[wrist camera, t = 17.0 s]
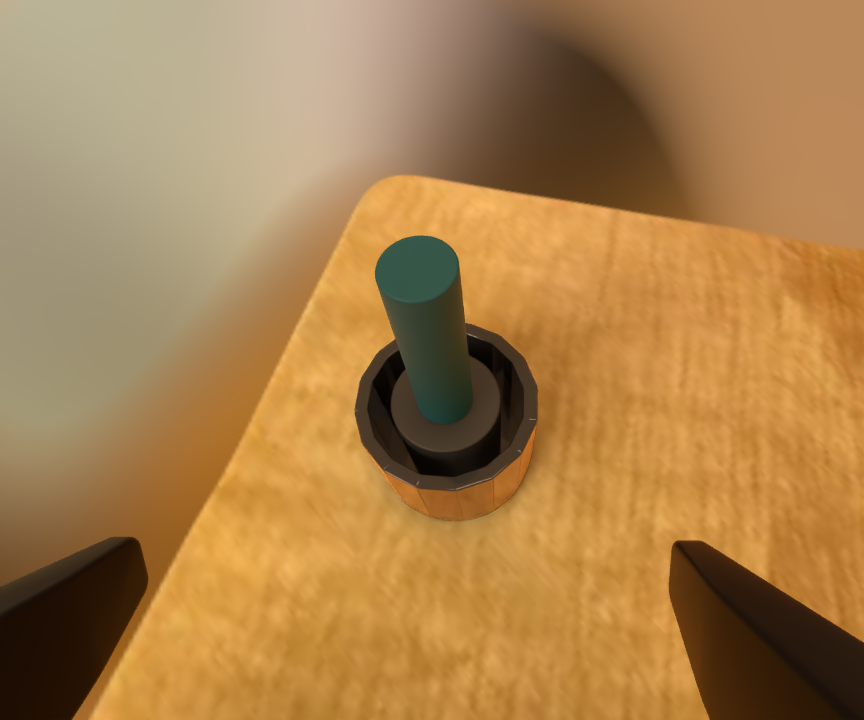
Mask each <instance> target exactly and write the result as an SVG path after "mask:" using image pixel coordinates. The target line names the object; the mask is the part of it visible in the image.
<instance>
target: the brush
mask: <svg viewBox="0 0 864 720" xmlns="http://www.w3.org/2000/svg"><path fill="white" fill-rule="evenodd" d="M375 278H376V282H377V285H378V288H379V291H380V294H381V297H382V300H383V303H384V306H385V309H386V312H387V315H388V318H389V321H390V324H391V327H392V330H393V333H394V336H395V339H396V342H397V345H398V348H399V351H400V354H401V357H402V359H403V362H404V365H405V368H406V369H405V370H404V372H403V373H402V374H401V375H400V377H399V378H398V380H397V382H396V384H395V386H394V389H393V392H392V396H391V412H392V417H393V420H394V422H395V425H396V427H397V429H398V431H399V433H400V435H401V437H402V440H403V442H404V444H405V446H406V448H407V450H408V452H409V455H410V457H411V459H412V461H413V463H414V465H415V466H416V468H417V469H418V470H419V471H420V472H421V474H422V475H436V476H450V477H455V476H458V475H461V474H464V473H467V472H470V471H473V470H476V469H479V468H482V467H485V466H486V465H488V464H489V463H490V462H491V461H492V460H493V459H495V458H496V457H497V456H498V455H499V451H500V445H501V393H500V388H499V385H498V383H497V381H496V379H495V377H494V375H493V374H492V372H491V371H490V370H489V369H488V368H487V367H486V366H485V365H484V364H483V363H482V362H480V361H479V360H477V359H475V358H473V357H471V356H469V354H468V345H467V335H466V326H465V316H464V306H463V297H462V287H461V277H460V268H459V260H458V257H457V255H456V253H455V252H454V250H453V249H452V248H451V247H450V246H449V245H448V244H447V243H445V242H444V241H442V240H440V239H438V238H435V237H431V236H411V237H407V238H404V239H401V240H399V241H397V242H395V243H394V244H392V245H391V246H389V247H388V248H387V249H386V250H385V251H384V252H383V253H382V255H381V256H380V258H379V260H378V262H377V265H376V268H375Z"/></svg>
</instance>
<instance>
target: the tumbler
mask: <svg viewBox="0 0 864 720" xmlns="http://www.w3.org/2000/svg"><path fill="white" fill-rule="evenodd" d="M465 326H466V335H467V345H468V354H469V356H471V357H473V358H475V359H477V360H479V361H480V362H482V363H483V364H484V365H485V366H486V367H487V368H488V369H489V370H490V371H491V372H492V374H493V375H494V377H495V379H496V381H497V383H498V385H499V388H500V393H501V445H500V451H499V455H498V456H497V457H496V458H495V459H493V460H492V461H491V462H490V463H489V464H488V465H486V466H485V467H482V468H479V469H476V470H473V471H470V472H467V473H464V474H461V475H458V476H455V477H450V476H436V475H422V474H421V472H420V471H419V470H418V469H417V468H416V466H415V465H414V463H413V461H412V459H411V457H410V455H409V452H408V450H407V448H406V446H405V444H404V442H403V440H402V437H401V435H400V433H399V431H398V429H397V427H396V425H395V422H394V420H393V417H392V412H391V396H392V392H393V389H394V386H395V384H396V382H397V380H398V378H399V377H400V375H401V374H402V373H403V372H404V370H405V369H406V368H405V365H404V362H403V359H402V357H401V354H400V351H399V348H398V345H397V342H396V339H395V340H394V341H392V342H391V343H389V344H388V345H387V346H385V347H384V348H383V349H381V350H380V351H379V353H377V354H376V356H375V357H374V359H373V360H372V362H371V364H370V365H369V367H368V368H367V370H366V371H365V373H364V374H363V376H362V377H361V380H360V383H359V389H358V394H357V399H356V405H355V417H356V422H357V426H358V430H359V434H360V438H361V442H362V444H363V446H364V448H365V449H366V451H367V452H368V454H369V455H370V457H371V458H372V459H373V461H374V462H375V464H376V465H377V467H378V468H379V470H380V471H381V473H382V474H383V476H384V477H385V479H386V480H387V481H388V482H389V484H390V485H391V486H392V488H393V489H394V490H395V492H396V493H397V494H398V495H399V496H400V498H401V499H402V500H403V501H404V502H405V503H407V504H408V505H409V506H410V507H412V508H414V509H415V510H417V511H418V512H420V513H422V514H425V515H427V516H430V517H433V518H436V519H441V520H448V521H461V520H469V519H473V518H477V517H480V516H483V515H485V514H488V513H490V512H491V511H493V510H495V509H497V508H498V507H500V506H501V505H502V504H503V503H505V502H506V501H507V500H508V499H509V498H510V497H511V496H512V495H513V494H514V492H515V491H516V490H517V488H518V487H519V485H520V484H521V482H522V480H523V478H524V476H525V473H526V471H527V468H528V465H529V463H530V460H531V455H532V449H533V443H534V437H535V432H536V426H537V418H538V389H537V385H536V383H535V380H534V378H533V376H532V374H531V371H530V369H529V367H528V365H527V362H526V360H525V358H524V357H523V356H522V355H521V354H520V353H519V352H518V351H517V350H515V349H514V348H513V347H512V346H511V345H510V344H509V343H508V342H507V341H506V340H505V339H503V338H502V337H501V336H499V335H498V334H495V333H493V332H490V331H488V330H485V329H483V328H480V327H477V326H475V325H472V324H468V323H465Z"/></svg>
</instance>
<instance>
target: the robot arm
mask: <svg viewBox="0 0 864 720" xmlns="http://www.w3.org/2000/svg"><path fill="white" fill-rule="evenodd" d="M147 585H148V573H147V569H146V565H145V561H144V558H143V553H142V550H141V546H140V543H139V541H138V540H137V539H136V538H134V537H111V538H108V539H106V540H103V541H101V542H99V543H97V544H94V545H92V546H90V547H88V548H86V549H83V550H81V551H79V552H77V553H74V554H72V555H70V556H68V557H65V558H63V559H61V560H59V561H57V562H54V563H52V564H50V565H47V566H45V567H43V568H41V569H38V570H36V571H34V572H32V573H29V574H27V575H25V576H23V577H21V578H18V579H16V580H14V581H12V582H9V583H7V584H5V585H3V586H0V720H72V719H73V717H74V716H75V714H76V713H77V711H78V709H79V708H80V707H81V705H82V704H83V702H84V700H85V699H86V697H87V696H88V694H89V693H90V691H91V689H92V688H93V686H94V685H95V683H96V681H97V680H98V678H99V677H100V675H101V673H102V671H103V670H104V668H105V666H106V664H107V662H108V660H109V658H110V657H111V655H112V653H113V651H114V649H115V648H116V646H117V644H118V642H119V640H120V638H121V636H122V635H123V633H124V631H125V629H126V627H127V625H128V623H129V621H130V620H131V618H132V616H133V614H134V612H135V610H136V609H137V606H138V605H139V603H140V601H141V599H142V597H143V596H144V594H145V592H146V589H147ZM669 594H670V599H671V603H672V606H673V609H674V612H675V616H676V619H677V622H678V625H679V628H680V632H681V635H682V638H683V641H684V645H685V648H686V651H687V654H688V657H689V661H690V664H691V667H692V670H693V674H694V677H695V680H696V683H697V686H698V689H699V692H700V695H701V698H702V701H703V703H704V706H705V708H706V711H707V713H708V716H709V718H710V720H864V643H863V642H862V641H860V640H859V639H857V638H855V637H854V636H852V635H851V634H849V633H848V632H846V631H844V630H843V629H841V628H840V627H838V626H836V625H835V624H833V623H832V622H830V621H828V620H827V619H825V618H824V617H822V616H821V615H819V614H817V613H816V612H814V611H813V610H811V609H809V608H808V607H806V606H805V605H803V604H802V603H800V602H798V601H797V600H795V599H794V598H792V597H790V596H789V595H787V594H786V593H784V592H783V591H781V590H779V589H778V588H776V587H775V586H773V585H771V584H770V583H768V582H767V581H765V580H764V579H762V578H760V577H759V576H757V575H756V574H754V573H752V572H751V571H749V570H748V569H746V568H744V567H743V566H741V565H740V564H738V563H737V562H735V561H733V560H732V559H730V558H729V557H727V556H725V555H724V554H722V553H721V552H719V551H718V550H716V549H714V548H713V547H711V546H710V545H708V544H706V543H705V542H703V541H681V540H678V541H676V542H675V543H674V544H673V546H672V551H671V563H670V576H669Z"/></svg>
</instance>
